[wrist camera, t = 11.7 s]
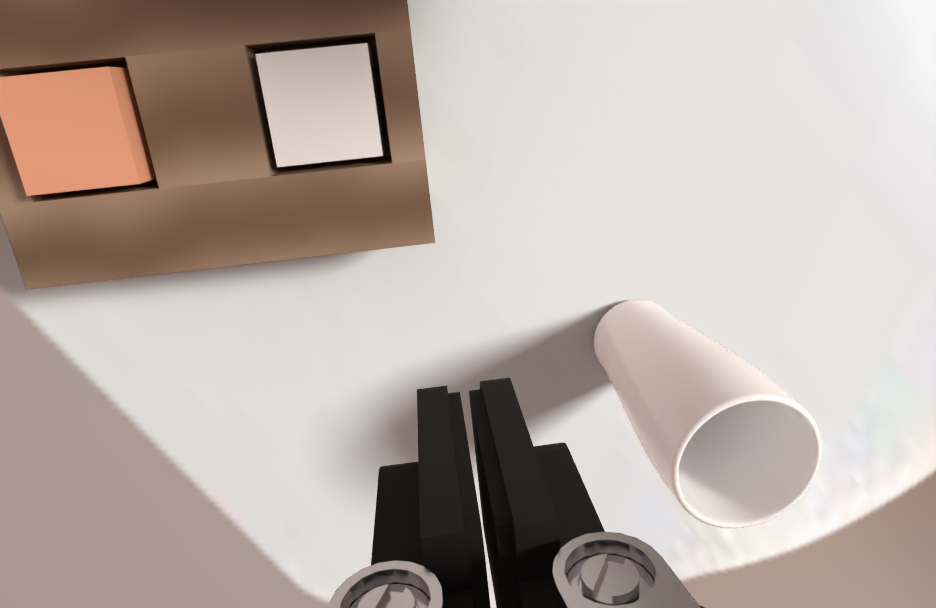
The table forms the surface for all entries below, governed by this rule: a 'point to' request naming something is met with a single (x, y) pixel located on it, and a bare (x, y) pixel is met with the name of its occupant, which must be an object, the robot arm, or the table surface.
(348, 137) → the white plug
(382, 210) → the walnut block
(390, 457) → the table surface
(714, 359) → the drinking glass
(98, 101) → the terracotta plug
